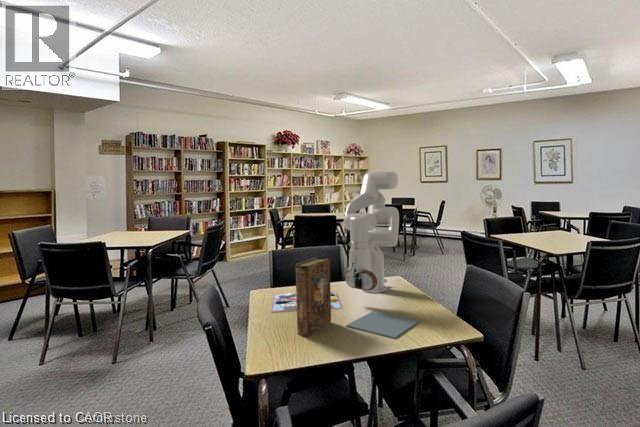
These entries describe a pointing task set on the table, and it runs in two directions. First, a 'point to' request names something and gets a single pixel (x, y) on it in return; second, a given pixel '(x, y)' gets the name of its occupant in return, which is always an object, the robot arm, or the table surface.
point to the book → (313, 295)
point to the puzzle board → (290, 302)
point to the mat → (383, 324)
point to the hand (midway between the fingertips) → (360, 286)
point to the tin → (367, 280)
